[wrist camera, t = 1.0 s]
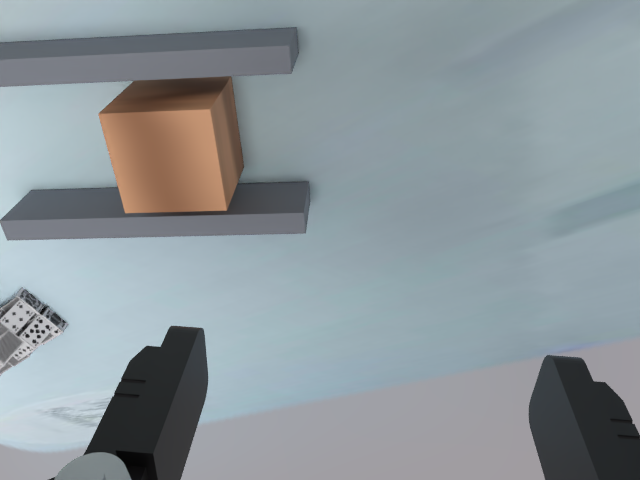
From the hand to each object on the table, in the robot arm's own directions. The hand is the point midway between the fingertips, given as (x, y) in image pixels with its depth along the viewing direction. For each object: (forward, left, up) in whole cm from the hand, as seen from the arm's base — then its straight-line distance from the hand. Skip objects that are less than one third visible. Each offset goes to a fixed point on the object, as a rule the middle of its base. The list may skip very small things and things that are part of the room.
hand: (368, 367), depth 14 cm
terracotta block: (+9, +1, -19) cm, 21 cm away
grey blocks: (+11, +1, -19) cm, 22 cm away
